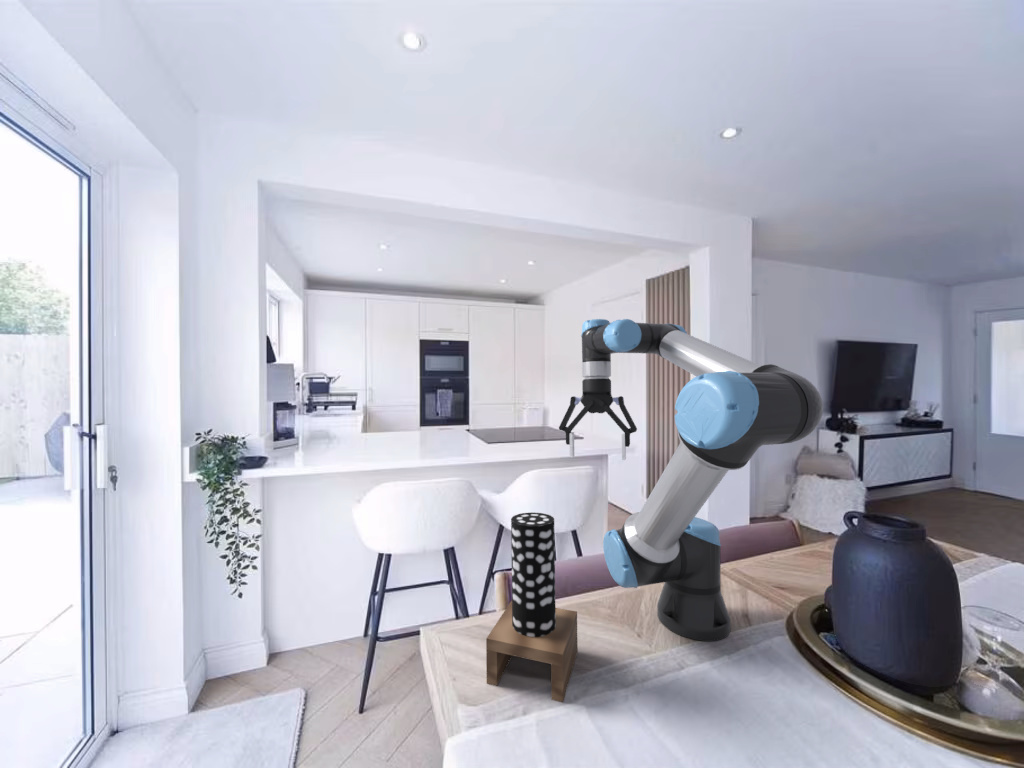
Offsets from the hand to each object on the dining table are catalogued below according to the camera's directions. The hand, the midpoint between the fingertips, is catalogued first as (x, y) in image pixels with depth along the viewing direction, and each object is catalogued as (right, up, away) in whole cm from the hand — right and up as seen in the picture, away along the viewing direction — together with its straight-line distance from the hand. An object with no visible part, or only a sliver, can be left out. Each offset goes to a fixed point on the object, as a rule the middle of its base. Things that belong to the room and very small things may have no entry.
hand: (597, 458), depth 107 cm
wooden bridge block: (-18, -34, -30) cm, 49 cm away
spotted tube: (-19, -27, -30) cm, 44 cm away
